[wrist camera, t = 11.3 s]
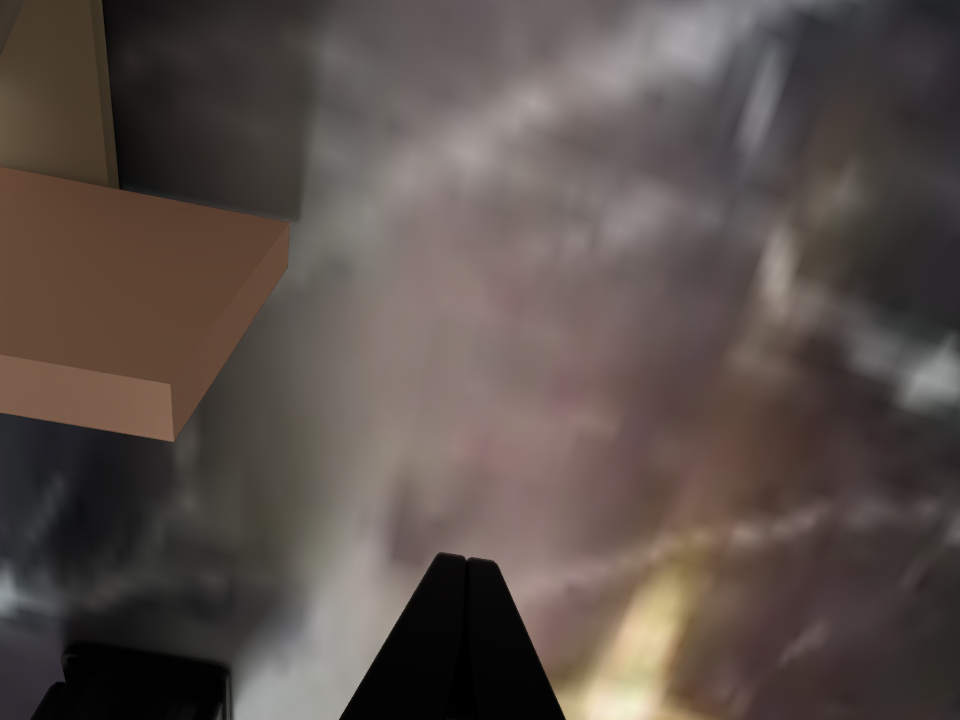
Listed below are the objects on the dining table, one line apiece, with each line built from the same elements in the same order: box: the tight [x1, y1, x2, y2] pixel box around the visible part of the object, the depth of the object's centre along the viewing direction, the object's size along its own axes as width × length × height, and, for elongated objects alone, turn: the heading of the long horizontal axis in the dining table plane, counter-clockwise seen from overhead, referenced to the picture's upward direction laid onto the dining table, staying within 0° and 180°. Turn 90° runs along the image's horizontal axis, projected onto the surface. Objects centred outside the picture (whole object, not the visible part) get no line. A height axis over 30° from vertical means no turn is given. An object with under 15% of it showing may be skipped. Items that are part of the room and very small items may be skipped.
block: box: [0, 167, 290, 442], centre depth 14 cm, size 8×1×7 cm, turn 79°
